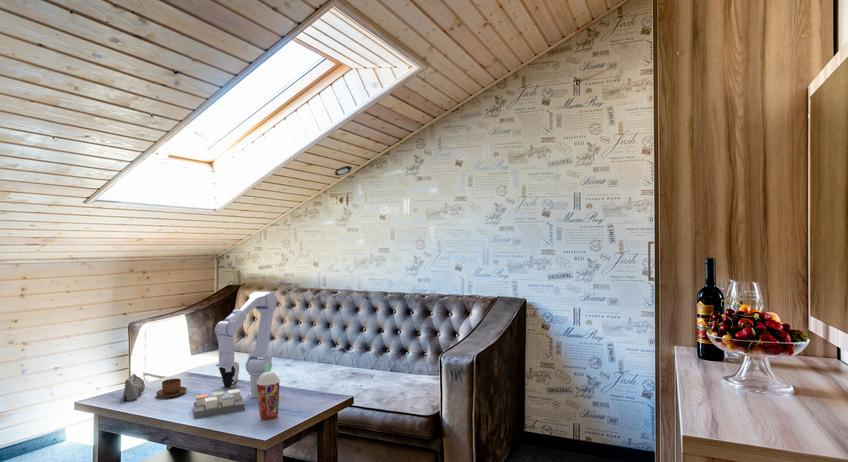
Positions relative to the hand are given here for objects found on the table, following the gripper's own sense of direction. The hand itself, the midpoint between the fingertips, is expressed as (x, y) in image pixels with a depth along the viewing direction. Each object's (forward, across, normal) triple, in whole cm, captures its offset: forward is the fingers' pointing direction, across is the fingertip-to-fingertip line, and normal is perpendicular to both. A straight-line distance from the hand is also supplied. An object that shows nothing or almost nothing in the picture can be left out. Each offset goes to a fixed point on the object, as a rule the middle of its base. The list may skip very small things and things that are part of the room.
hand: (227, 386), depth 200 cm
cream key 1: (+8, 0, -6) cm, 10 cm away
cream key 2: (+8, -6, +3) cm, 10 cm away
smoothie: (+10, +17, +13) cm, 23 cm away
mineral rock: (+10, -40, -34) cm, 53 cm away
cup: (+10, -34, +4) cm, 36 cm away
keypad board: (+9, -3, -3) cm, 10 cm away
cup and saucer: (+10, -34, -20) cm, 41 cm away
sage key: (+8, -6, -3) cm, 10 cm away
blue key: (+8, 0, 0) cm, 8 cm away
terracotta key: (+8, -6, -9) cm, 13 cm away
